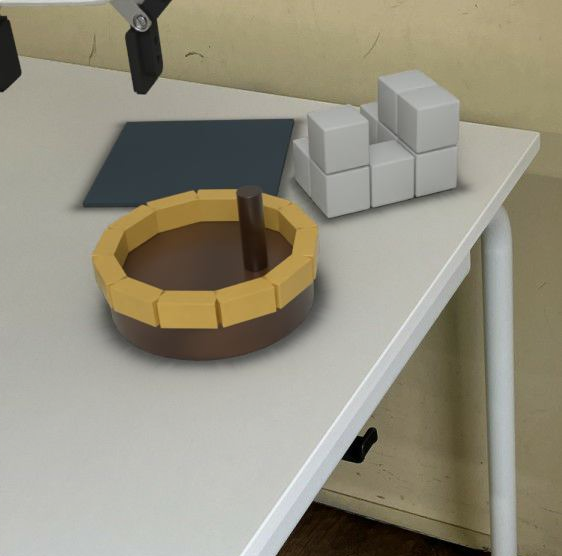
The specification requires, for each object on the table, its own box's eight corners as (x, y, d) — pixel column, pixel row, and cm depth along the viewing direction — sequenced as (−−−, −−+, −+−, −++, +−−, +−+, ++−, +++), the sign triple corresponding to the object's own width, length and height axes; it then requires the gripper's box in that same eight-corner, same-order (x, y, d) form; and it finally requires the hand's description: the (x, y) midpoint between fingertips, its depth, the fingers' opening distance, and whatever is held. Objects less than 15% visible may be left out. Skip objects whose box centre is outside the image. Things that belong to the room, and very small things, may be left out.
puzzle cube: (397, 135, 96) (398, 53, 91) (457, 188, 87) (461, 100, 82) (279, 161, 93) (272, 78, 88) (327, 219, 84) (323, 130, 79)
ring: (73, 327, 68) (68, 303, 67) (127, 212, 81) (123, 189, 80) (307, 329, 66) (306, 304, 65) (325, 210, 79) (324, 187, 78)
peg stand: (89, 359, 71) (63, 248, 65) (136, 247, 82) (118, 145, 77) (304, 361, 69) (297, 247, 63) (322, 246, 80) (316, 142, 75)
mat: (83, 206, 89) (82, 202, 88) (127, 125, 102) (126, 121, 102) (274, 205, 86) (274, 201, 86) (294, 122, 100) (293, 118, 99)
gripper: (-161, -197, 54) (-71, 106, 65) (145, -212, 51) (188, 111, 61) (-93, -219, 60) (-20, 62, 70) (186, -234, 56) (219, 65, 67)
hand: (76, 85), depth 66 cm, fingers open, 9 cm apart
